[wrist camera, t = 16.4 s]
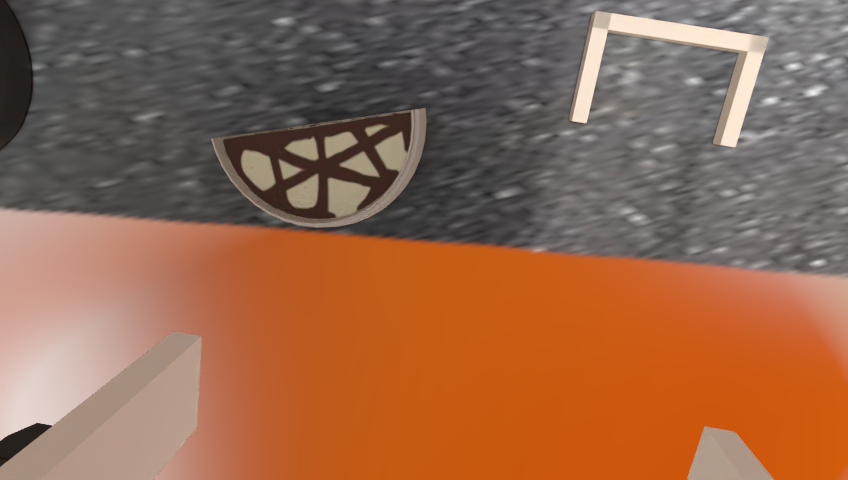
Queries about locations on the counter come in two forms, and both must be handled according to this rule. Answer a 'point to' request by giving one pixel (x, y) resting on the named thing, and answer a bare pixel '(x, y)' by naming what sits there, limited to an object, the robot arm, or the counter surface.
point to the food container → (326, 166)
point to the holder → (677, 33)
